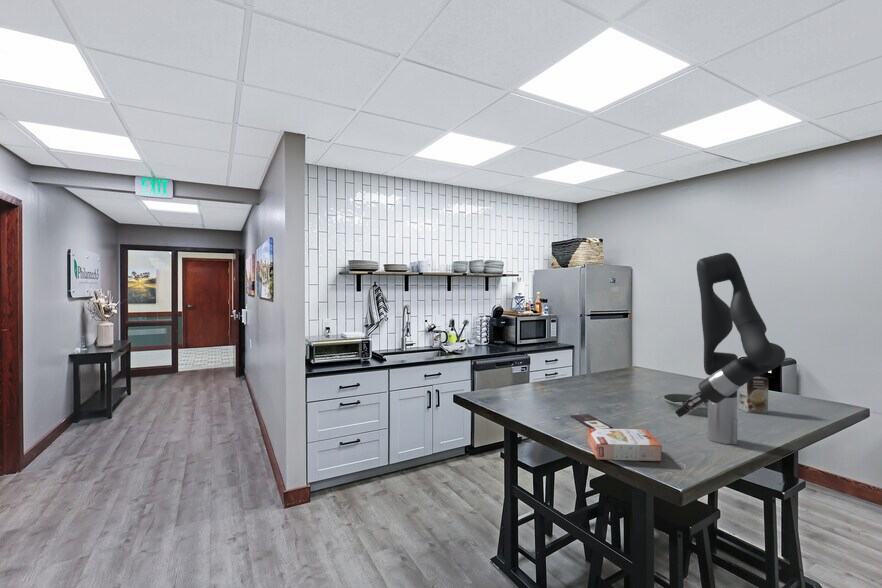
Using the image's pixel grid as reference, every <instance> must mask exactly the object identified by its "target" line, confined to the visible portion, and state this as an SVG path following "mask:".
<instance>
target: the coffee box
mask: <svg viewBox="0 0 882 588" xmlns="http://www.w3.org/2000/svg"><path fill="white" fill-rule="evenodd" d="M769 381H770V380H769V378H767V377H764V376H761V375H759V376H757V377H754V378H753V379H751V380H750V381H749V382H747V383H746V384H744V385H743V386H741V387H740V388H739V400H738V401H739V406H738V408H739V410H742V411H743V412H746V413H754V414H755V413H757V414H768V413H769V412H768V411H769V384H770V383H769Z"/></svg>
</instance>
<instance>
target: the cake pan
mask: <svg viewBox="0 0 882 588" xmlns="http://www.w3.org/2000/svg"><path fill="white" fill-rule="evenodd" d="M693 395H694V394H691V393H690V394H689V393H666V394H664V395H662V399H663V400H664V403H665V406H667V407H668V409H669V408H670V409H669V410H671V409H672V410H671V411H674V410H675V411H677V410H678V409H680V408H681V407H682V405H683V404H684V403H683V404H679V403H675V402H687V400H688V399H690V398H691V397H692V396H693ZM704 405H705V406H700V407H699V408H697V409H693V410H692V411H690V412H687V413H688V415H692V414H695V415H694V416H708V407H707V406H708V403H706V404H704ZM675 411H674V412H675Z"/></svg>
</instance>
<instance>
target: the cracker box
mask: <svg viewBox="0 0 882 588" xmlns="http://www.w3.org/2000/svg"><path fill="white" fill-rule="evenodd" d="M587 444H588V445H589V447H590V449H591V451H592V453H593V454H594V457H595V458H596V460H604V461H605V460H607V461H636V462H638V461H639V462H641V461H642V462H643V461H644V462H662V453H663V452H662V446H663V445H662V444H661V443H660V442H659V441H658V440H657V439H656V438H655V437H654V436H653V435H652V434H651V433H650V432H649V430H647V429H641V428H640V429H638V428H636V429H635V428H613V429H598V428H588V427H587Z"/></svg>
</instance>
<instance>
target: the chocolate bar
mask: <svg viewBox="0 0 882 588" xmlns="http://www.w3.org/2000/svg"><path fill="white" fill-rule="evenodd" d="M570 416H571V417H570ZM569 417H570V418H572V419H573V418H574V420H575V419H576V420H575V421H577V422H578V421H579V422H578V423H580V424H582V425H583V426H585V427H587V428H588V427H589V428H598V429H614V428H613V426H612V425H610V424H607V423H605V422H604V421H602V420H600V419H598V418H597V417H595V416H592V415H591V414H589V413H586V414H572V415H569Z"/></svg>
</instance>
